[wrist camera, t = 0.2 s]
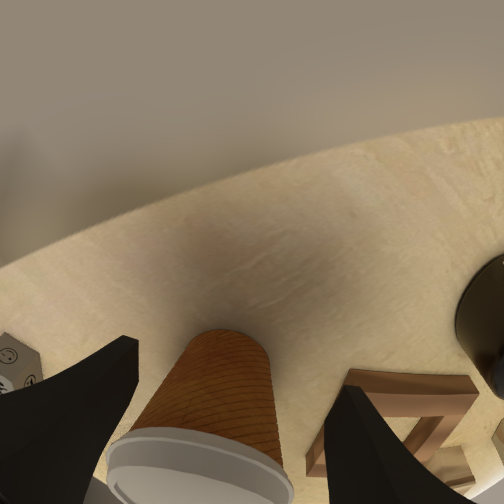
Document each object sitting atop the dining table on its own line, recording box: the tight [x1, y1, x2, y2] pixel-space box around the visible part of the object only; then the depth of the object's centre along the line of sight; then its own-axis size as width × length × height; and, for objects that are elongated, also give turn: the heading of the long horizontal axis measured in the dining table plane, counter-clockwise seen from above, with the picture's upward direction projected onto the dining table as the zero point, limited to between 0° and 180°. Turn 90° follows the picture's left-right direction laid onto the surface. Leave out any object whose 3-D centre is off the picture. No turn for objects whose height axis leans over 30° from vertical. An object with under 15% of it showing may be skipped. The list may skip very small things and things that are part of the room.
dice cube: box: [0, 332, 43, 394], centre depth 23 cm, size 5×5×5 cm
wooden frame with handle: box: [306, 369, 480, 477], centre depth 23 cm, size 19×12×2 cm, turn 170°
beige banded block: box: [424, 446, 476, 495], centre depth 23 cm, size 4×4×6 cm
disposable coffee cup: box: [106, 330, 294, 504], centre depth 16 cm, size 10×10×12 cm
